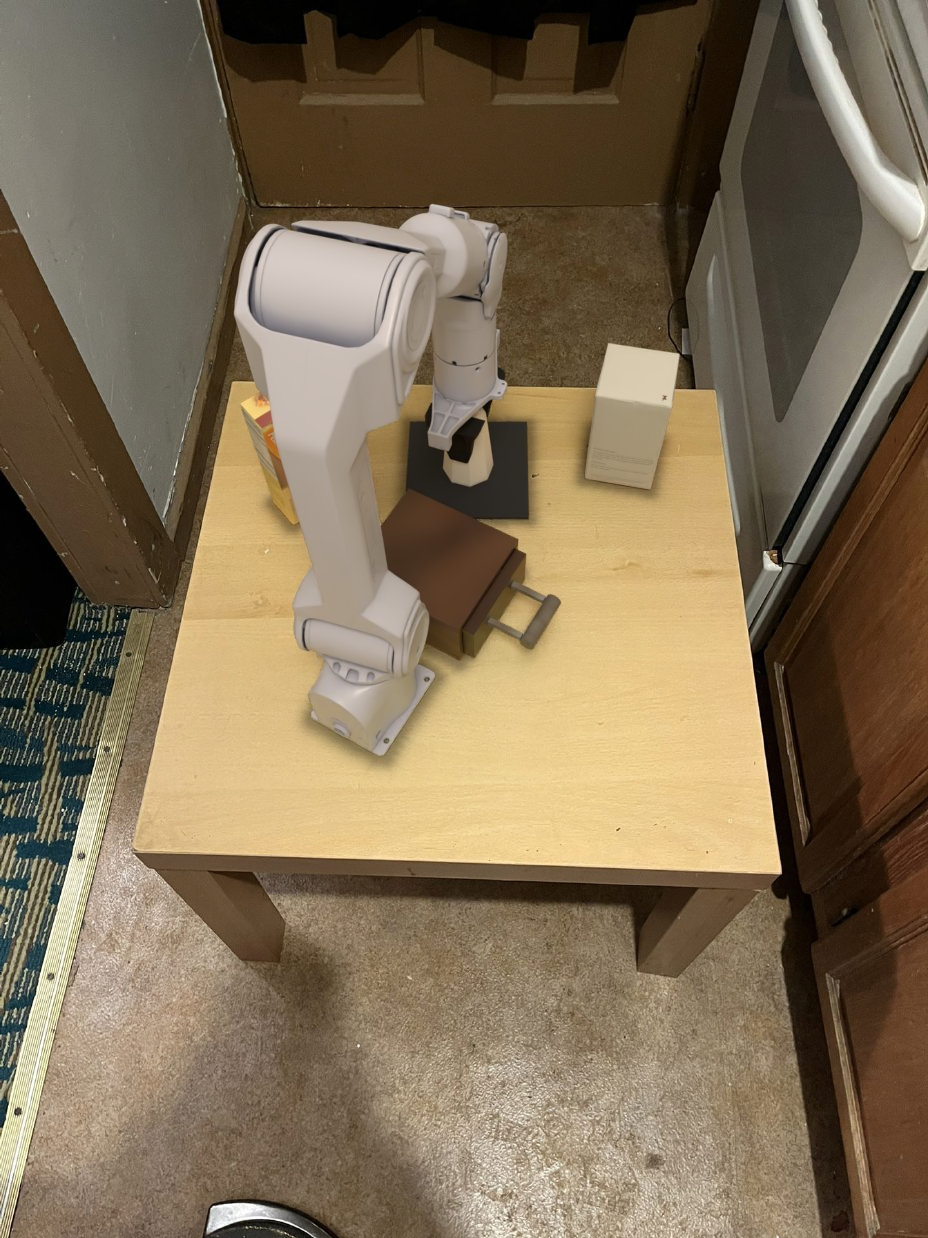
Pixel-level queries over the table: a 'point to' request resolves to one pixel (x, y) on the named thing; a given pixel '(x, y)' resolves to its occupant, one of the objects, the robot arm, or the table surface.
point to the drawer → (497, 602)
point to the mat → (485, 499)
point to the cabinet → (444, 562)
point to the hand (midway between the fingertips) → (466, 443)
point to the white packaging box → (631, 415)
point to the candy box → (268, 452)
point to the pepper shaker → (472, 459)
